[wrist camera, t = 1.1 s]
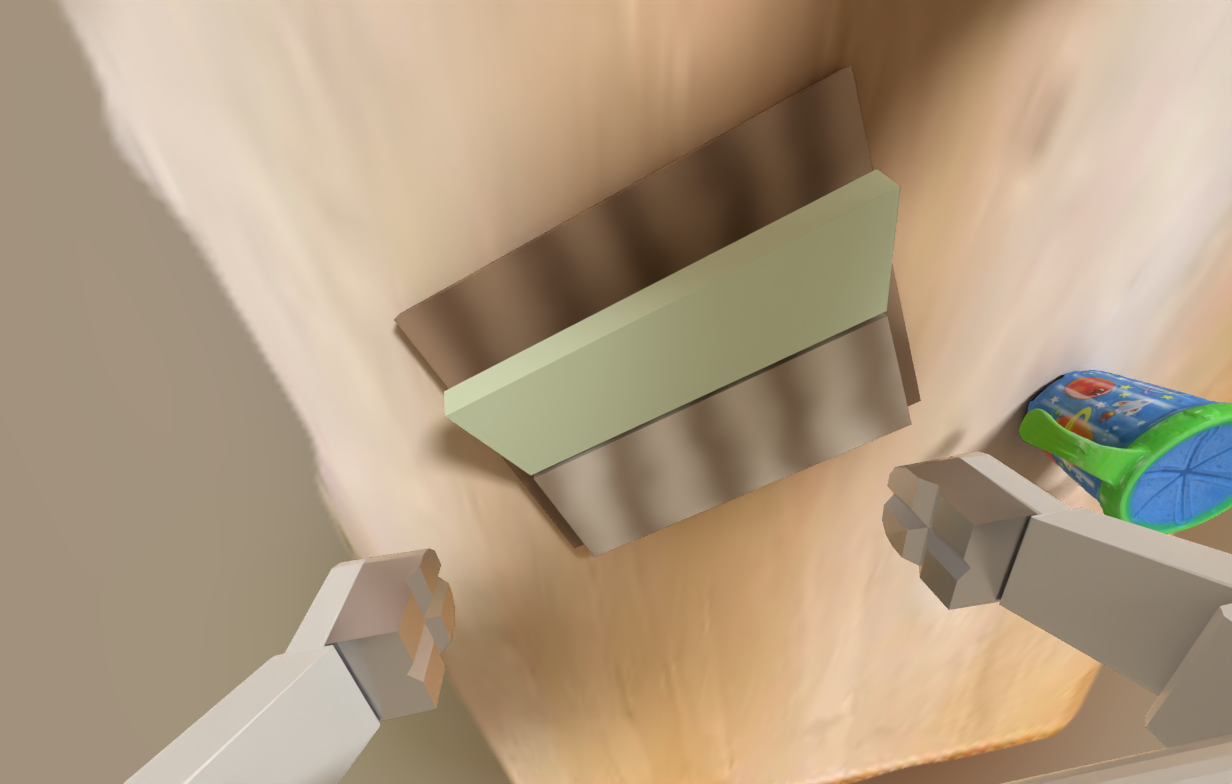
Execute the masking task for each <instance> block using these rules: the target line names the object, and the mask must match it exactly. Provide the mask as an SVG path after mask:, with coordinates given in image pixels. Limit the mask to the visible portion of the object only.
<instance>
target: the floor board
mask: <svg viewBox="0 0 1232 784" xmlns="http://www.w3.org/2000/svg"><path fill="white" fill-rule="evenodd" d="M872 171H873V167H872V162H871V157H870V153H869V148H868V143H867V138H866V133H865V128H864V124H863V119H862V114H861V109H860V104H859V99H858V94H857V90H856V85H855V80H854V75H853V70H852V65H851V66H848V67H844V68H841V69H839V70H837V71H835V72H834V73H832V74H830V75H828V76H826V77H825V78H823V79H821V80H819V81H817V82H816V83H814V84H812V85H810V86H808V87H807V88H805V89H803V90H801V91H799V92H798V93H796V94H794V95H792V96H791V97H789V98H787V99H785V100H783V101H782V102H780V103H778V104H776V105H774V106H773V107H771V108H769V109H767V110H765V111H764V112H762V113H760V114H758V115H756V116H755V117H753V118H751V119H749V120H747V121H746V122H744V123H742V124H740V125H738V126H737V127H735V128H733V129H731V130H729V131H728V132H726V133H724V134H722V135H720V136H719V137H717V138H715V139H713V140H711V141H710V142H708V143H706V144H704V145H702V146H701V147H699V148H697V149H695V150H693V151H692V152H690V153H688V154H686V155H684V156H683V157H681V158H679V159H677V160H675V161H674V162H672V163H670V164H668V165H666V166H665V167H663V168H661V169H659V170H658V171H656V172H654V173H652V174H650V175H649V176H647V177H645V178H643V179H641V180H640V181H638V182H636V183H634V184H632V185H631V186H629V187H627V188H625V189H623V190H622V191H620V192H618V193H616V194H614V195H613V196H611V197H609V198H607V199H605V200H604V201H602V202H600V203H598V204H596V205H595V206H593V207H591V208H589V209H587V210H586V211H584V212H582V213H580V214H578V215H577V216H575V217H573V218H571V219H569V220H568V221H566V222H564V223H562V224H560V225H559V226H557V227H555V228H553V229H551V230H550V231H548V232H546V233H544V234H542V235H541V236H539V237H537V238H535V239H534V240H532V241H530V242H528V243H526V244H525V245H523V246H521V247H519V248H517V249H516V250H514V251H512V252H510V253H508V254H507V255H505V256H503V257H501V258H499V259H498V260H496V261H494V262H492V263H490V264H489V265H487V266H485V267H483V268H481V269H480V270H478V271H476V272H474V273H472V274H471V275H469V276H467V277H465V278H463V279H462V280H460V281H458V282H456V283H454V284H453V285H451V286H449V287H447V288H445V289H444V290H442V291H440V292H438V293H436V294H435V295H433V296H431V297H429V298H427V299H426V300H424V301H422V302H420V303H418V304H417V305H415V306H413V307H411V308H410V309H408V310H406V311H404V312H402V313H401V314H399V315H398V316H397V317H396V318H395V319H394V321H395V322H396V323H397V325H398V326H399V327H400V328H401V330H402V331H403V332H404V333H405V335H406V336H407V337H408V338H409V340H410V341H411V342H412V343H413V345H414V346H415V347H416V349H417V350H418V351H419V352H420V354H421V355H422V356H423V357H424V359H425V360H426V361H427V362H428V364H429V365H430V366H431V367H432V369H433V370H434V371H435V373H436V374H437V375H438V376H439V378H440V379H441V380H442V381H443V383H444V384H445V385H446V386H447V388H448V389H450V388H452V387H454V386H456V385H458V384H459V383H461V382H463V381H465V380H467V379H469V378H471V377H473V376H475V375H477V374H479V373H481V372H483V371H485V370H487V369H489V368H491V367H493V366H494V365H496V364H498V363H500V362H502V361H504V360H506V359H508V358H510V357H512V356H514V355H516V354H518V353H520V352H522V351H524V350H526V349H528V348H530V347H531V346H533V345H535V344H537V343H539V342H541V341H543V340H545V339H547V338H549V337H551V336H553V335H555V334H557V333H559V332H561V331H563V330H565V329H566V328H568V327H570V326H572V325H574V324H576V323H578V322H580V321H582V320H584V319H586V318H588V317H590V316H592V315H594V314H596V313H598V312H600V311H602V310H603V309H605V308H607V307H609V306H611V305H613V304H615V303H617V302H619V301H621V300H623V299H625V298H627V297H629V296H631V295H633V294H635V293H637V292H638V291H640V290H642V289H644V288H646V287H648V286H650V285H652V284H654V283H656V282H658V281H660V280H662V279H664V278H666V277H668V276H670V275H672V274H674V273H675V272H677V271H679V270H681V269H683V268H685V267H687V266H689V265H691V264H693V263H695V262H697V261H699V260H701V259H703V258H705V257H707V256H709V255H710V254H712V253H714V252H716V251H718V250H720V249H722V248H724V247H726V246H728V245H730V244H732V243H734V242H736V241H738V240H740V239H742V238H744V237H746V236H747V235H749V234H751V233H753V232H755V231H757V230H759V229H761V228H763V227H765V226H767V225H769V224H771V223H773V222H775V221H777V220H779V219H781V218H782V217H784V216H786V215H788V214H790V213H792V212H794V211H796V210H798V209H800V208H802V207H804V206H806V205H808V204H810V203H812V202H814V201H816V200H818V199H819V198H821V197H823V196H825V195H827V194H829V193H831V192H833V191H835V190H837V189H839V188H841V187H843V186H845V185H847V184H849V183H851V182H853V181H854V180H856V179H858V178H860V177H862V176H864V175H866V174H868V173H870V172H872ZM919 401H921V400H920V395H919V390H918V385H917V380H916V376H915V371H914V366H913V361H912V356H911V351H910V347H909V342H908V337H907V332H906V327H905V322H904V317H903V313H902V308H901V303H900V298H899V293H898V288H897V284H896V279H895V274H894V269H893V264H892V267H891V276H890V285H889V294H888V303H887V311H886V312H884V313H881V314H879V315H877V316H875V317H873V318H871V319H868V320H866V321H864V322H862V323H860V324H858V325H855V326H853V327H851V328H849V329H847V330H845V331H842V332H840V333H838V334H836V335H834V336H832V337H829V338H827V339H825V340H823V341H821V342H819V343H816V344H814V345H812V346H810V347H808V348H806V349H803V350H801V351H799V352H797V353H795V354H793V355H790V356H788V357H786V358H784V359H782V360H780V361H777V362H775V363H773V364H771V365H769V366H767V367H765V368H762V369H760V370H758V371H756V372H754V373H752V374H749V375H747V376H745V377H743V378H741V379H739V380H736V381H734V382H732V383H730V384H728V385H726V386H723V387H721V388H719V389H717V390H715V391H713V392H710V393H708V394H706V395H704V396H702V397H700V398H697V399H695V400H693V401H691V402H689V403H687V404H684V405H682V406H680V407H678V408H676V409H674V410H671V411H669V412H667V413H665V414H663V415H661V416H658V417H656V418H654V419H652V420H650V421H648V422H645V423H643V424H641V425H639V426H637V427H635V428H633V429H630V430H628V431H626V432H624V433H622V434H620V435H617V436H615V437H613V438H611V439H609V440H607V441H604V442H602V443H600V444H598V445H596V446H594V447H591V448H589V449H587V450H585V451H583V452H581V453H578V454H576V455H574V456H572V457H570V458H568V459H565V460H563V461H561V462H559V463H557V464H555V465H552V466H550V467H548V468H546V469H544V470H542V471H539V472H537V473H535V474H533V475H529V474H528V473H527V472H525V471H524V470H522V469H521V468H519V467H518V466H516V465H515V464H513V463H512V462H511V461H509V460H508V459H506V458H505V457H503V456H502V455H501V456H502V457H503V458H504V460H505V461H506V462H507V463H508V465H509V466H510V467H511V469H512V470H513V471H514V472H515V474H516V475H517V476H518V477H519V479H520V480H521V481H522V482H523V484H524V485H525V486H526V487H527V489H528V490H529V491H530V493H531V494H532V495H533V496H534V498H535V499H536V500H537V501H538V503H539V504H540V505H541V506H542V508H543V509H544V510H545V511H546V513H547V514H548V515H549V517H550V518H551V519H552V520H553V522H554V523H555V524H556V525H557V527H558V528H559V529H560V530H561V532H562V533H563V534H564V535H565V537H566V538H567V539H568V541H569V542H570V543H571V544H572V546H573V547H574V548H576V547H578V546H581V545H583V544H585V546H586V547H587V548H588V550H589V551H590V552H591V554H592V555H593V556H594V557H596V556H598V555H601V554H603V553H605V552H608V551H610V550H612V549H615V548H617V547H620V546H622V545H624V544H627V543H629V542H632V541H634V540H636V539H639V538H641V537H644V536H646V535H648V534H651V533H653V532H655V531H658V530H660V529H663V528H665V527H667V526H670V525H672V524H675V523H677V522H679V521H682V520H684V519H687V518H689V517H691V516H694V515H696V514H698V513H701V512H703V511H706V510H708V509H710V508H713V507H715V506H718V505H720V504H722V503H725V502H727V501H730V500H732V499H734V498H737V497H739V496H741V495H744V494H746V493H749V492H751V491H753V490H756V489H758V488H761V487H763V486H765V485H768V484H770V483H773V482H775V481H777V480H780V479H782V478H784V477H787V476H789V475H792V474H794V473H796V472H799V471H801V470H804V469H806V468H808V467H811V466H813V465H816V464H818V463H820V462H823V461H825V460H827V459H830V458H832V457H835V456H837V455H839V454H842V453H844V452H847V451H849V450H851V449H854V448H856V447H859V446H861V445H863V444H866V443H868V442H870V441H873V440H875V439H878V438H880V437H882V436H885V435H887V434H890V433H892V432H894V431H897V430H899V429H902V428H904V427H906V426H909V425H911V419H910V415H909V410H908V406H910V405H912V404H914V403H917V402H919Z"/></svg>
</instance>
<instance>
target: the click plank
mask: <svg viewBox="0 0 1232 784" xmlns="http://www.w3.org/2000/svg"><path fill="white" fill-rule="evenodd" d="M899 196H900V186H899V185H897V184H896V183H895V182H894V181H892V180H891V179H890V178H889V177H887V176H886V175H885V174H883V173H882V172H881V171H880V170H878V169H876V170H874V171H872V172H870V173H868V174H866V175H864V176H862V177H860V178H858V179H856V180H854V181H853V182H851V183H849V184H847V185H845V186H843V187H841V188H839V189H837V190H835V191H833V192H831V193H829V194H827V195H825V196H823V197H821V198H819V199H818V200H816V201H814V202H812V203H810V204H808V205H806V206H804V207H802V208H800V209H798V210H796V211H794V212H792V213H790V214H788V215H786V216H784V217H782V218H781V219H779V220H777V221H775V222H773V223H771V224H769V225H767V226H765V227H763V228H761V229H759V230H757V231H755V232H753V233H751V234H749V235H747V236H746V237H744V238H742V239H740V240H738V241H736V242H734V243H732V244H730V245H728V246H726V247H724V248H722V249H720V250H718V251H716V252H714V253H712V254H710V255H709V256H707V257H705V258H703V259H701V260H699V261H697V262H695V263H693V264H691V265H689V266H687V267H685V268H683V269H681V270H679V271H677V272H675V273H674V274H672V275H670V276H668V277H666V278H664V279H662V280H660V281H658V282H656V283H654V284H652V285H650V286H648V287H646V288H644V289H642V290H640V291H638V292H637V293H635V294H633V295H631V296H629V297H627V298H625V299H623V300H621V301H619V302H617V303H615V304H613V305H611V306H609V307H607V308H605V309H603V310H602V311H600V312H598V313H596V314H594V315H592V316H590V317H588V318H586V319H584V320H582V321H580V322H578V323H576V324H574V325H572V326H570V327H568V328H566V329H565V330H563V331H561V332H559V333H557V334H555V335H553V336H551V337H549V338H547V339H545V340H543V341H541V342H539V343H537V344H535V345H533V346H531V347H530V348H528V349H526V350H524V351H522V352H520V353H518V354H516V355H514V356H512V357H510V358H508V359H506V360H504V361H502V362H500V363H498V364H496V365H494V366H493V367H491V368H489V369H487V370H485V371H483V372H481V373H479V374H477V375H475V376H473V377H471V378H469V379H467V380H465V381H463V382H461V383H459V384H458V385H456V386H454V387H452V388H450V389H448V390H446V391H444V407H445V417H447V418H448V419H450V420H451V421H452V422H454V423H455V424H457V425H458V426H460V427H461V428H463V429H464V430H466V431H467V432H468V433H470V434H471V435H473V436H474V437H476V438H477V439H479V440H480V441H481V442H483V443H484V444H486V445H487V446H489V447H490V448H492V449H493V450H495V451H496V452H497V453H499V454H500V455H502V456H503V457H505V458H506V459H508V460H509V461H511V462H512V463H513V464H515V465H516V466H518V467H519V468H521V469H522V470H524V471H525V472H527V473H528V474H529V475H533V474H535V473H537V472H539V471H542V470H544V469H546V468H548V467H550V466H552V465H555V464H557V463H559V462H561V461H563V460H565V459H568V458H570V457H572V456H574V455H576V454H578V453H581V452H583V451H585V450H587V449H589V448H591V447H594V446H596V445H598V444H600V443H602V442H604V441H607V440H609V439H611V438H613V437H615V436H617V435H620V434H622V433H624V432H626V431H628V430H630V429H633V428H635V427H637V426H639V425H641V424H643V423H645V422H648V421H650V420H652V419H654V418H656V417H658V416H661V415H663V414H665V413H667V412H669V411H671V410H674V409H676V408H678V407H680V406H682V405H684V404H687V403H689V402H691V401H693V400H695V399H697V398H700V397H702V396H704V395H706V394H708V393H710V392H713V391H715V390H717V389H719V388H721V387H723V386H726V385H728V384H730V383H732V382H734V381H736V380H739V379H741V378H743V377H745V376H747V375H749V374H752V373H754V372H756V371H758V370H760V369H762V368H765V367H767V366H769V365H771V364H773V363H775V362H777V361H780V360H782V359H784V358H786V357H788V356H790V355H793V354H795V353H797V352H799V351H801V350H803V349H806V348H808V347H810V346H812V345H814V344H816V343H819V342H821V341H823V340H825V339H827V338H829V337H832V336H834V335H836V334H838V333H840V332H842V331H845V330H847V329H849V328H851V327H853V326H855V325H858V324H860V323H862V322H864V321H866V320H868V319H871V318H873V317H875V316H877V315H879V314H881V313H884V312H886V311H887V303H888V294H889V285H890V276H891V267H892V258H893V250H894V241H895V232H896V223H897V214H898V205H899Z"/></svg>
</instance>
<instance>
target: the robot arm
mask: <svg viewBox="0 0 1232 784" xmlns="http://www.w3.org/2000/svg"><path fill="white" fill-rule="evenodd" d="M888 487H889V488H890V490H891V491H892V492H893V493H894V494H893V496H892V497H891V498H890V499H889V500H888V501H887V502H886V504H885V505H884V509H883V517H882V521H883V525H884V529H885V533H886V536H887V538H888V539H889V541H890V543H891V545H892V546H893V548H894V549H895V550H896V551H897V552H898V553H899V555H900V556H901V557H902V558H904V559H906V560H909V561H911V562H913V563H915V564H917V565H919V573H920V578H921V579H922V581H923V582H924V583H925V584H926V585H927V586H928V587H929V588H930V589H931V591H932V592H933V593H934V594H935V595H936V596H937V597H938V598H939V599H940V601H941V602H942V603H943V604H944V605H945V606H946V607H947V608H948V610H951V609H957V608H963V607H969V606H975V605H982V604H988V603H994V602H1000V604H999V605H1001V606H1003V607H1005V608H1006V609H1008V610H1010V611H1012V612H1013V613H1015V614H1017V615H1019V616H1020V617H1022V618H1024V619H1025V620H1027V621H1029V622H1031V623H1032V624H1034V625H1036V626H1038V627H1039V628H1041V629H1043V630H1045V631H1046V632H1048V633H1050V634H1052V635H1053V636H1055V637H1057V638H1058V639H1060V640H1062V641H1064V642H1065V643H1067V644H1069V645H1071V646H1072V647H1074V648H1076V649H1078V650H1079V651H1081V652H1083V653H1085V654H1086V655H1088V656H1090V657H1092V658H1093V659H1095V660H1097V661H1098V662H1100V663H1102V664H1104V665H1105V666H1107V667H1109V668H1111V669H1112V670H1114V671H1116V672H1118V673H1119V674H1121V675H1123V676H1125V677H1126V678H1128V679H1130V680H1132V681H1133V682H1135V683H1137V684H1138V685H1140V686H1142V687H1144V688H1146V689H1147V690H1149V691H1151V692H1152V693H1154V694H1156V695H1158V696H1159V697H1158V698H1157V700H1156V701H1155V703H1154V704H1153V706H1152V707H1151V709H1150V710H1149V711H1148V713H1147V714H1146V716H1145V724H1146V728H1147V729H1148V730H1149V731H1150V732H1151V733H1152V734H1153V735H1154V736H1155V737H1156V738H1157V739H1158V740H1159V741H1160V742H1161V743H1162V744H1163V745H1164V746H1165V747H1166V748H1164V749H1159V750H1155V751H1151V752H1145V753H1141V754H1136V755H1132V756H1127V757H1123V758H1118V759H1113V760H1109V761H1104V762H1099V763H1094V764H1090V765H1085V766H1081V767H1076V768H1071V769H1067V770H1062V771H1058V772H1053V773H1048V774H1044V775H1039V776H1034V777H1030V778H1026V779H1021V780H1016V781H1011V782H1007V783H1002V784H1232V554H1229V553H1226V552H1223V551H1219V550H1216V549H1213V548H1210V547H1206V546H1203V545H1200V544H1197V543H1194V542H1190V541H1187V540H1184V539H1181V538H1178V537H1174V536H1171V535H1168V534H1165V533H1162V532H1158V531H1155V530H1152V529H1149V528H1145V527H1142V526H1139V525H1136V524H1133V523H1129V522H1126V521H1123V520H1120V519H1117V518H1113V517H1110V516H1107V515H1104V514H1101V513H1097V512H1094V511H1091V510H1088V509H1084V508H1075V509H1071V508H1070V507H1068V506H1067V505H1065V504H1064V503H1062V502H1061V501H1059V500H1058V499H1056V498H1054V497H1053V496H1051V495H1050V494H1048V493H1047V492H1045V491H1044V490H1042V489H1041V488H1039V487H1038V486H1036V485H1035V484H1033V483H1032V482H1030V481H1029V480H1027V479H1026V478H1024V477H1023V476H1021V475H1020V474H1018V473H1017V472H1015V471H1014V470H1012V469H1010V468H1009V467H1007V466H1006V465H1004V464H1003V463H1001V462H1000V461H998V460H997V459H995V458H994V457H992V456H991V455H989V454H986V453H982V452H979V451H977V452H971V453H966V454H961V455H956V456H951V457H949V458H943V459H937V460H932V461H926V462H921V463H915V464H910V465H904V466H899V467H895V468H894V469H893V471H892V472H891V473H890V476H889V481H888ZM440 567H441V564H440V561H439V559H438V557H437V555H436V552H435V551H434V550H431V549H423V550H417V551H410V552H403V553H397V554H390V555H384V556H377V557H370V558H369V559H361V560H355V561H348V562H341V563H339V564H338V565H336V566H335V567H333V568H332V569H331V571H330V572H329V574H328V576H327V578H326V580H325V582H324V583H323V585H322V587H321V589H320V591H319V592H318V594H317V596H316V598H315V599H314V601H313V603H312V605H311V607H310V608H309V610H308V612H307V614H306V616H305V617H304V619H303V621H302V623H301V625H300V627H299V628H298V630H297V632H296V634H295V635H294V637H293V639H292V641H291V643H290V644H289V646H288V648H287V650H286V652H285V653H284V654H281V655H276V656H273V657H272V658H271V659H269V660H268V661H267V662H266V663H265V664H264V665H262V666H261V667H260V668H259V669H258V670H256V671H255V672H254V673H253V674H252V675H251V676H249V677H248V678H247V679H246V680H245V681H244V682H243V683H241V684H240V685H239V686H238V687H236V689H234V690H233V691H232V692H231V693H229V694H228V695H227V696H226V697H225V698H224V699H222V700H221V701H220V702H219V703H218V704H216V705H215V706H214V707H213V708H212V709H211V710H209V711H208V712H207V713H206V714H205V715H204V716H202V717H201V718H200V719H199V720H198V721H196V722H195V723H194V724H193V725H192V726H191V727H189V728H188V729H187V730H186V731H185V732H184V733H183V734H181V735H180V736H179V737H178V738H176V739H175V740H174V741H173V742H172V743H170V745H168V746H167V747H166V748H165V749H163V750H162V751H161V752H160V753H159V754H158V755H156V756H155V757H154V758H153V759H152V760H151V761H149V762H148V763H147V764H146V765H145V766H143V768H141V769H140V770H139V771H138V772H136V773H135V774H134V775H133V776H132V777H131V778H129V779H128V780H127V781H126V782H125V783H124V784H338V783H339V782H340V781H341V779H342V778H343V777H344V775H345V774H346V772H347V771H348V770H349V768H350V767H351V765H352V764H353V763H354V761H355V760H356V759H357V757H358V756H359V754H360V753H361V752H362V750H363V749H364V748H365V746H366V745H367V743H368V742H369V740H370V739H371V738H372V736H373V735H374V734H375V732H376V731H377V730H378V728H379V727H380V721H384V720H389V719H394V718H398V717H403V716H407V715H411V714H416V713H420V712H425V711H429V710H434V709H436V708H437V704H438V700H439V695H440V691H441V686H442V682H443V677H444V673H445V668H446V666H445V664H444V662H443V659H442V657H441V655H440V654H441V653H442V651H443V650H444V649H445V648H446V647H447V646H448V644H449V643H450V642H451V640H452V635H453V630H454V622H455V606H454V600H453V595H452V592H451V589H450V586H449V584H448V583H447V582H445V581H444V580H442V579H440V578H439V577H438V574H439V570H440Z"/></svg>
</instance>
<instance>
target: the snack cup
mask: <svg viewBox="0 0 1232 784" xmlns="http://www.w3.org/2000/svg"><path fill="white" fill-rule="evenodd" d="M1027 410H1028V412H1027V414H1026V415H1025V417H1024V419H1023V421H1022V422H1021V424H1020V428H1019V435H1020V437H1021V438H1022V439H1023V441H1024V442H1026V443H1028V444H1030V445H1033V446H1035V447H1038V448H1039V449H1041V450H1042V451H1043V452H1044V453H1045V454H1046V455H1047V456H1048V457H1049V458H1050V459H1051V460H1052V461H1054V462H1055V463H1056V464H1057V465H1058V466H1060V467H1061V468H1062V469H1063V470H1064V471H1065V472H1066V473H1067V474H1068V475H1069V476H1070V477H1071V478H1072V479H1073V480H1075V481H1076V482H1077V483H1078V484H1079V485H1080V486H1081V487H1083V488H1084V489H1085V490H1086V491H1087V492H1088V493H1089V494H1091V495H1092V496H1093V497H1094V498H1095V499H1097V500H1098V502H1099V503H1100V506H1101V507H1102V509H1103V513H1104V514H1105V515H1107V516H1110V517H1113V518H1117V519H1120V520H1123V521H1126V522H1129V523H1133V524H1136V525H1139V526H1142V527H1145V528H1149V529H1152V530H1155V531H1158V532H1162V533H1165V534H1170V533H1174V532H1178V531H1182V530H1185V529H1188V528H1191V527H1194V526H1196V525H1199V524H1201V523H1204V522H1206V521H1208V520H1210V519H1212V518H1213V517H1216V516H1217V515H1219V514H1221V513H1223V512H1224V511H1226V510H1227V509H1229V508H1231V507H1232V403H1220V402H1214V401H1209V400H1205V399H1202V398H1199V397H1196V396H1193V395H1189V394H1186V393H1182V392H1179V391H1175V390H1171V389H1168V388H1164V387H1160V386H1157V385H1153V384H1150V383H1145V382H1142V381H1139V380H1135V379H1130V378H1126V377H1123V376H1120V375H1115V374H1112V373H1107V372H1104V371H1096V370H1089V371H1081V372H1077V371H1074V372H1071V373H1066V374H1065V375H1064V377H1062V378H1061V379H1059V380H1056V381H1055V382H1054V383H1052V384H1051V385H1049V386H1048V387H1047V388H1046V389H1045V390H1044V391H1042V392H1041V393H1040V394H1039V395H1038V396H1037V397H1036V398H1035V400H1033V401H1030V403H1029V405H1028V409H1027Z"/></svg>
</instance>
